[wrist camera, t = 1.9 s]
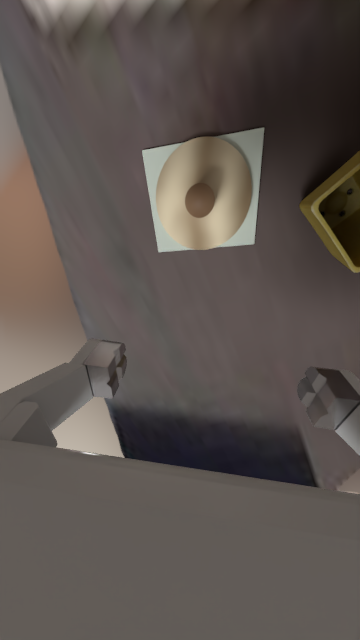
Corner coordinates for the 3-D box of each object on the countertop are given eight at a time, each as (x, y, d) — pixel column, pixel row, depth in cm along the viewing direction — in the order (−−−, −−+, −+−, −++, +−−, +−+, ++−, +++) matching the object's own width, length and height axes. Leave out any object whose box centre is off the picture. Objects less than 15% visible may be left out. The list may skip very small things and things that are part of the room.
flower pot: (279, 203, 25) (309, 206, 17) (355, 134, 20) (439, 96, 13) (315, 254, 27) (355, 275, 19) (390, 201, 23) (477, 202, 15)
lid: (254, 129, 21) (266, 109, 16) (246, 244, 27) (253, 254, 23) (150, 148, 23) (134, 136, 18) (164, 251, 29) (155, 261, 25)
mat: (263, 128, 21) (264, 127, 21) (253, 243, 27) (254, 244, 27) (143, 151, 24) (142, 150, 23) (159, 251, 30) (158, 252, 29)
